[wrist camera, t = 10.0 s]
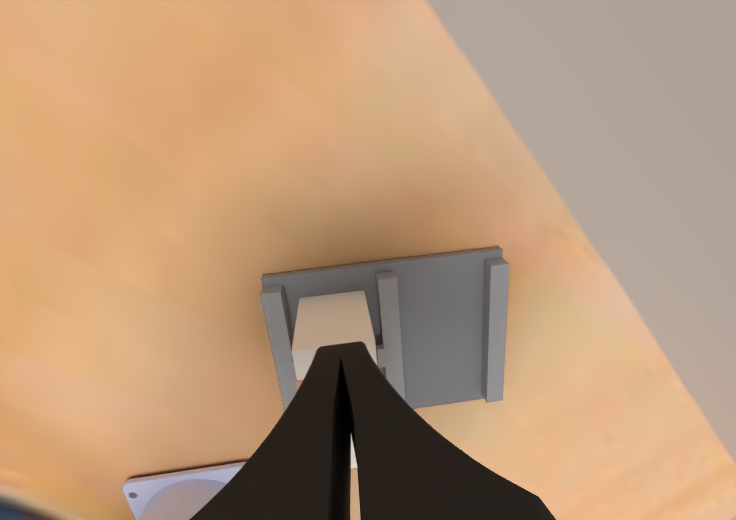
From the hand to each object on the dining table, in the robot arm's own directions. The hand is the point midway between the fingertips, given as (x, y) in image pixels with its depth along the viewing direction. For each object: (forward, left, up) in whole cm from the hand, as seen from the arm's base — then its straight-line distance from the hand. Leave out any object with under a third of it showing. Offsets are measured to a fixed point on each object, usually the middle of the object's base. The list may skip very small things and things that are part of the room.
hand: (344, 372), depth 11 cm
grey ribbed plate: (-6, -3, -10) cm, 12 cm away
